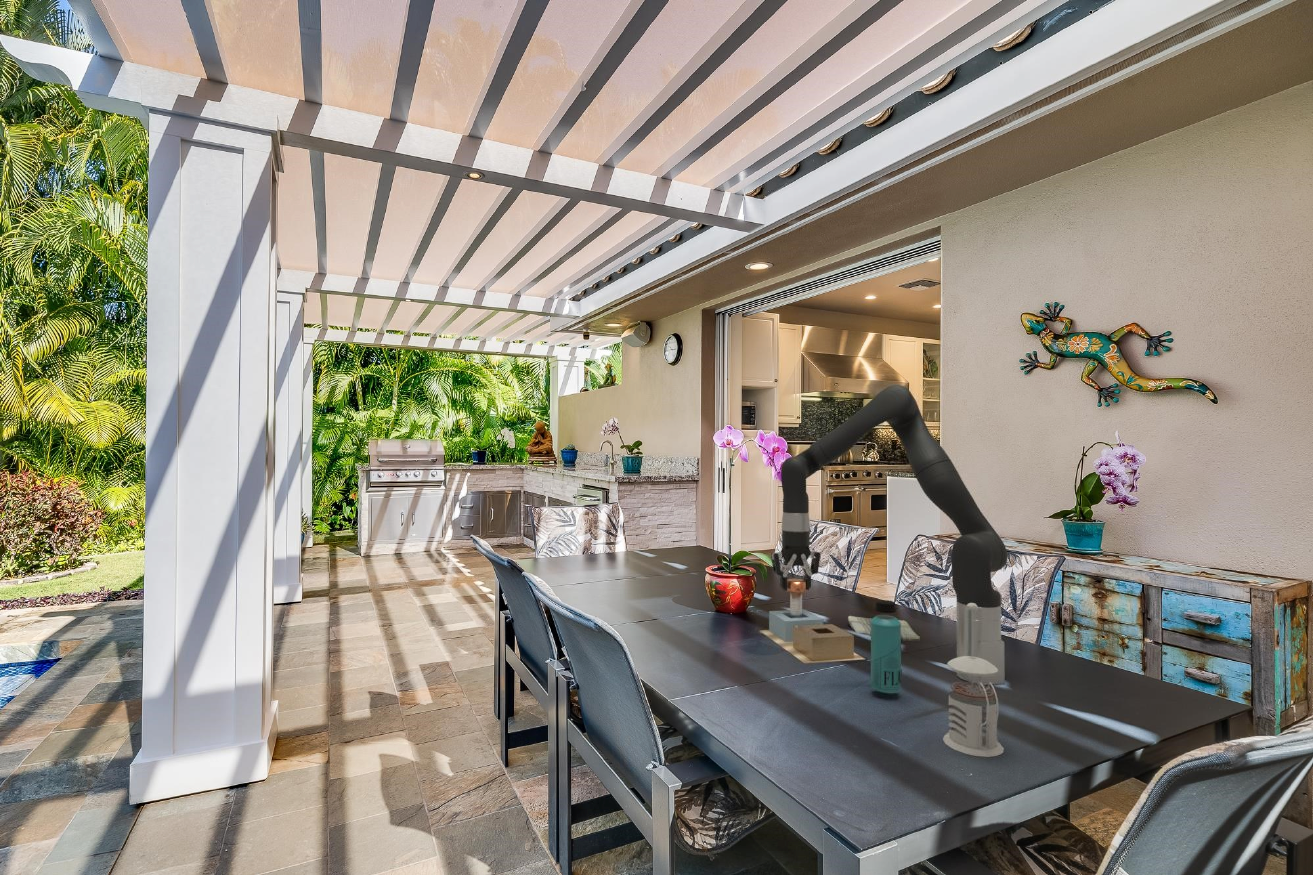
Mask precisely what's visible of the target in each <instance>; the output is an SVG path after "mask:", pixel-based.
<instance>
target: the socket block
mask: <svg viewBox="0 0 1313 875" xmlns="http://www.w3.org/2000/svg"><path fill="white" fill-rule="evenodd" d="M768 617H769V618H768V624H769V625H768V630H769V631H770V632H771V633H773V634H774V635H776V636H777V637H778V638H780V639H781V640H783V641H784V642H793V626H807V625H824V619H823V618H822V617H820V616H818V615H817V614H814V613H813V612H811V611H809V610H807V609H802V618H790V609H789V610H771V611H770V610H769V611H768Z"/></svg>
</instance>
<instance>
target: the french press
mask: <svg viewBox="0 0 1313 875" xmlns="http://www.w3.org/2000/svg"><path fill="white" fill-rule="evenodd" d="M966 609H967V610H971V631H972V656H962V657H958V658H957V657H955V658H952V659H951V660H948V662H947V663H946V664H947V666H948V667H949V669H950V670H952V671H954V672H956V673H957V672H959V673H962V674H967V675H972V682H969V681H957V682H953V683H952V684H951V685H950V688H951V691H949V693H948V706H951V707H949V708H948V713H951V714H950V715H949V716H948V720H950V722H948V727H949V728H950V727H951V728H950V729H949V730H948V732H947V733H945V734H944V735H943V737H942V741H943V742H944V743H945V745H947V746H948V747H949V748H951V749H952V750H955V751H957V752H960V753H963V754H966V755H971V756H975V757H984V758H986V757H987V758H989V757H996V756H997V757H998V756H999V755H1002V754H1003V753H1004V749H1005V748H1004V747H1003V746H1002V744H1001V743H1000V742H999V741H998V726H997V725H998V719H999V714H1000V713H999V698H998V696H997V692H996V690H995V687H994V684H991V683H990V682H989V683H988V685H982V683H981V682H980V683H979V684H977V683H973V676H991V675H994V674H996V673H997V671H998V669H997V668H996V667H995V666H994V665H992V664H991V663H989V662H988V661H986V660H984V659H982V658H978V657H974V656H973V611H977V610H978V606H977V605H976V604H975V603H969V604H967V607H966ZM980 684H981V685H980ZM990 686H991V687H990ZM974 704H978V705H974ZM982 705H983V706H985V707H986V708H983V706H982ZM983 713H986V715H983ZM983 720H985V721H984V722H983ZM983 727H986V729H983Z"/></svg>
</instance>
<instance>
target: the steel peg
mask: <svg viewBox="0 0 1313 875" xmlns="http://www.w3.org/2000/svg"><path fill="white" fill-rule="evenodd" d="M786 592H788V593H789V594H790V595H789V596H790V598H789V599H790V601H789V602H790V603H789V605H790V606H789V610H790V618H802V610H803V594H806V593H807V590H806V581H805V580H804V579H801V578H787V591H786Z"/></svg>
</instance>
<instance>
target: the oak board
mask: <svg viewBox="0 0 1313 875" xmlns="http://www.w3.org/2000/svg"><path fill="white" fill-rule="evenodd" d="M759 634H763V635H765V637H768V638H769V639H770V640H772V641H773V642H774V643H776V644H777V645H778V646H780V647H781V648H783V649H784V650H786V652H788V653H789V654H791V655H792V656H794V657H795V658H797V659H798V660H799V661H800V662H802V663H803V664H814V663H815V664H817V663H818V664H819V663H828V662H829V663H832V662H843V661H844V662H845V661H858V660H859V661H860V660H862V661H863V660H865V658H864V657H862V656H861V655H859V654H857V653H856V652H854V658H852V659H838V660H823V661H811V660H810V659H808V658H807V657H806V656H804V655H803V654H801V653H800V652H798V651H797V650H796V649H794V648H793V642H784V641H783V640H781V639H780V638H778V637H777V636H776V635H774V634H773V633H771V632H770V631H769V629H763V630H760V629H759Z"/></svg>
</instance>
